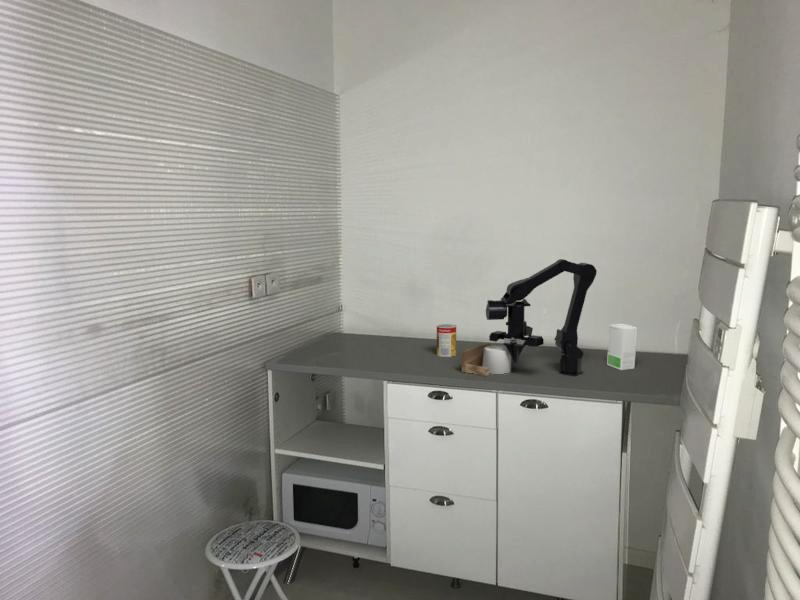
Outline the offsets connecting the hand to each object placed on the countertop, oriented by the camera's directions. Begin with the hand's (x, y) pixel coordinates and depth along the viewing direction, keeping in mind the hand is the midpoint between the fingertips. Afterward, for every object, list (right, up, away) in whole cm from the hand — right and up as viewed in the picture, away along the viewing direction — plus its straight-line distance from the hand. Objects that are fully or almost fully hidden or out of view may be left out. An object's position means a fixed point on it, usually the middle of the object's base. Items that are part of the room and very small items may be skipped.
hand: (515, 362), depth 229 cm
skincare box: (+41, -3, +10) cm, 42 cm away
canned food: (-22, 0, +33) cm, 39 cm away
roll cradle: (-9, -3, +8) cm, 13 cm away
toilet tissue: (-7, -4, +5) cm, 9 cm away
